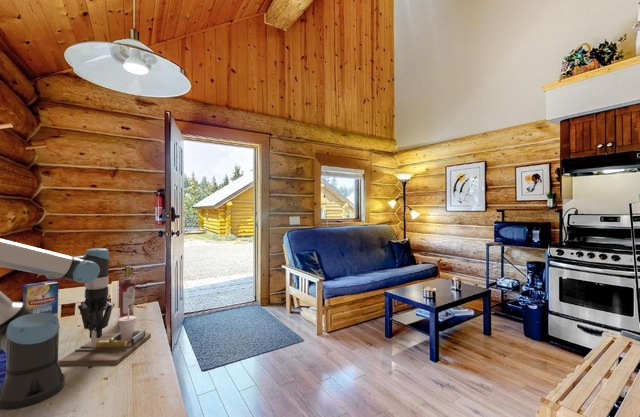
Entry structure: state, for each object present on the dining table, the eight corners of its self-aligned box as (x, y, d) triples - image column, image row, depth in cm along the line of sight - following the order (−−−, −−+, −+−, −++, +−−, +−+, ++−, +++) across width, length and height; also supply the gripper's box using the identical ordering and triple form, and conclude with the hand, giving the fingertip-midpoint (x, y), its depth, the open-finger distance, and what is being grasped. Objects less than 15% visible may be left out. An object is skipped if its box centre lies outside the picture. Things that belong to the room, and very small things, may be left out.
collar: (134, 344, 122) (134, 338, 122) (109, 344, 121) (109, 338, 121) (145, 335, 131) (145, 330, 131) (122, 335, 130) (122, 330, 130)
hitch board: (116, 364, 109) (117, 358, 109) (58, 364, 108) (58, 359, 108) (150, 336, 133) (150, 332, 133) (102, 337, 132) (103, 332, 132)
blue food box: (57, 328, 141) (58, 282, 141) (25, 336, 132) (27, 287, 132) (53, 325, 145) (54, 280, 145) (21, 332, 136) (23, 285, 136)
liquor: (130, 316, 158) (131, 264, 158) (137, 319, 154) (138, 265, 155) (115, 320, 152) (116, 266, 152) (122, 323, 148) (123, 268, 148)
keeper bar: (124, 349, 117) (124, 339, 117) (95, 350, 117) (96, 339, 117) (127, 347, 119) (127, 337, 119) (99, 347, 118) (99, 338, 118)
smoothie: (126, 344, 122) (127, 311, 122) (113, 343, 123) (114, 309, 123) (139, 338, 128) (139, 306, 128) (126, 336, 129) (127, 305, 129)
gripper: (119, 284, 122) (118, 341, 122) (86, 284, 121) (85, 341, 121) (107, 289, 114) (106, 350, 114) (72, 289, 114) (71, 350, 113)
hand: (95, 345), depth 117 cm, fingers closed
